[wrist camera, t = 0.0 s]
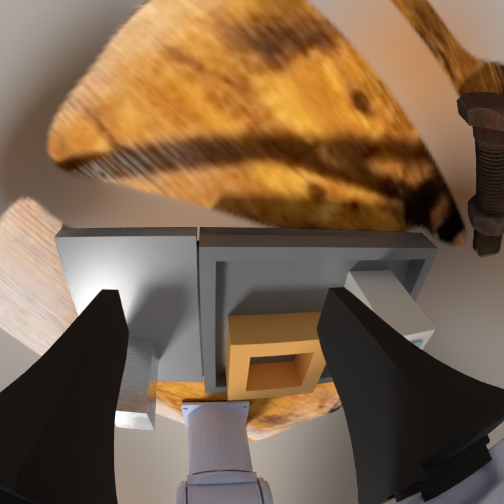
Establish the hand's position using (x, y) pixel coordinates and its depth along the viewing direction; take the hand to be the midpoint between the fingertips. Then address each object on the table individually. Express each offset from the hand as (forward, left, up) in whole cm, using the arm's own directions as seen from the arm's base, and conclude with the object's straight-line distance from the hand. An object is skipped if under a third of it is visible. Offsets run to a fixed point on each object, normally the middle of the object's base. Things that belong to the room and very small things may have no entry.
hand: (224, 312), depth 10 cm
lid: (-10, +6, -10) cm, 16 cm away
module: (-7, -12, -9) cm, 17 cm away
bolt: (+4, -22, -11) cm, 25 cm away
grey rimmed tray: (-10, -8, -10) cm, 16 cm away
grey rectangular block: (-13, +6, -9) cm, 17 cm away
